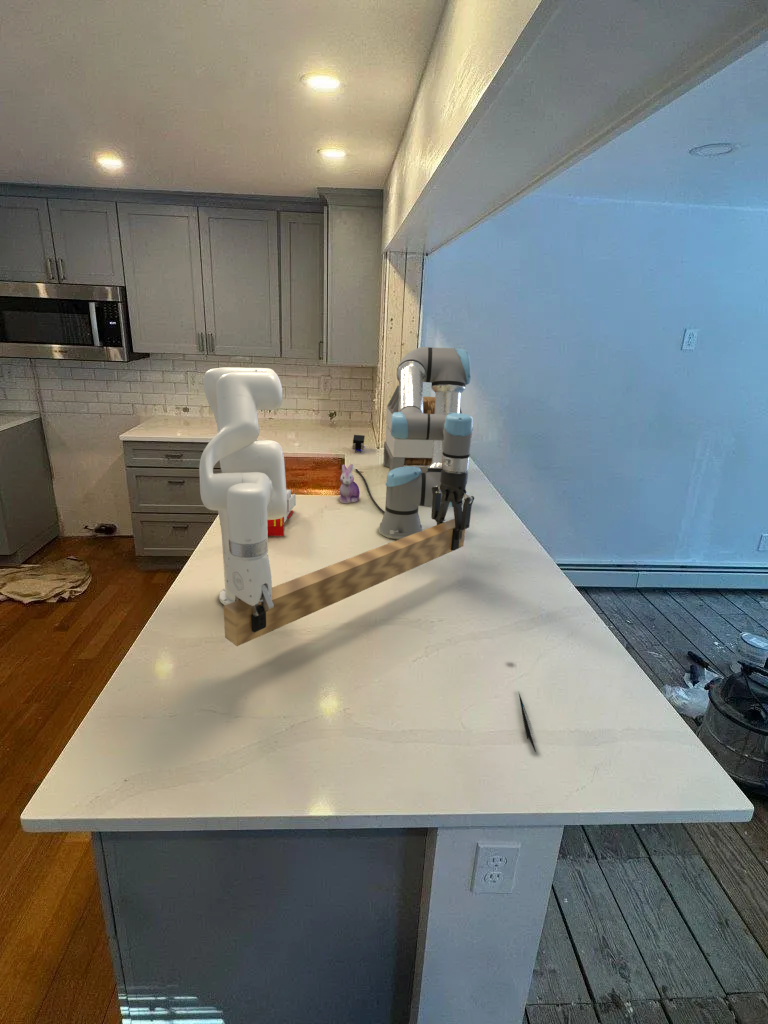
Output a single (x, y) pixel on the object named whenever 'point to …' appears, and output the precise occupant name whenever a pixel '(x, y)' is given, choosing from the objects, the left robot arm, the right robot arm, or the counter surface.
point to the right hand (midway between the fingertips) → (447, 546)
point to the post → (339, 581)
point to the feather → (526, 723)
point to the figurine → (348, 486)
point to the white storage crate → (407, 449)
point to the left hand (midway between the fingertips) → (251, 623)
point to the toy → (277, 525)
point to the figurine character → (358, 442)
